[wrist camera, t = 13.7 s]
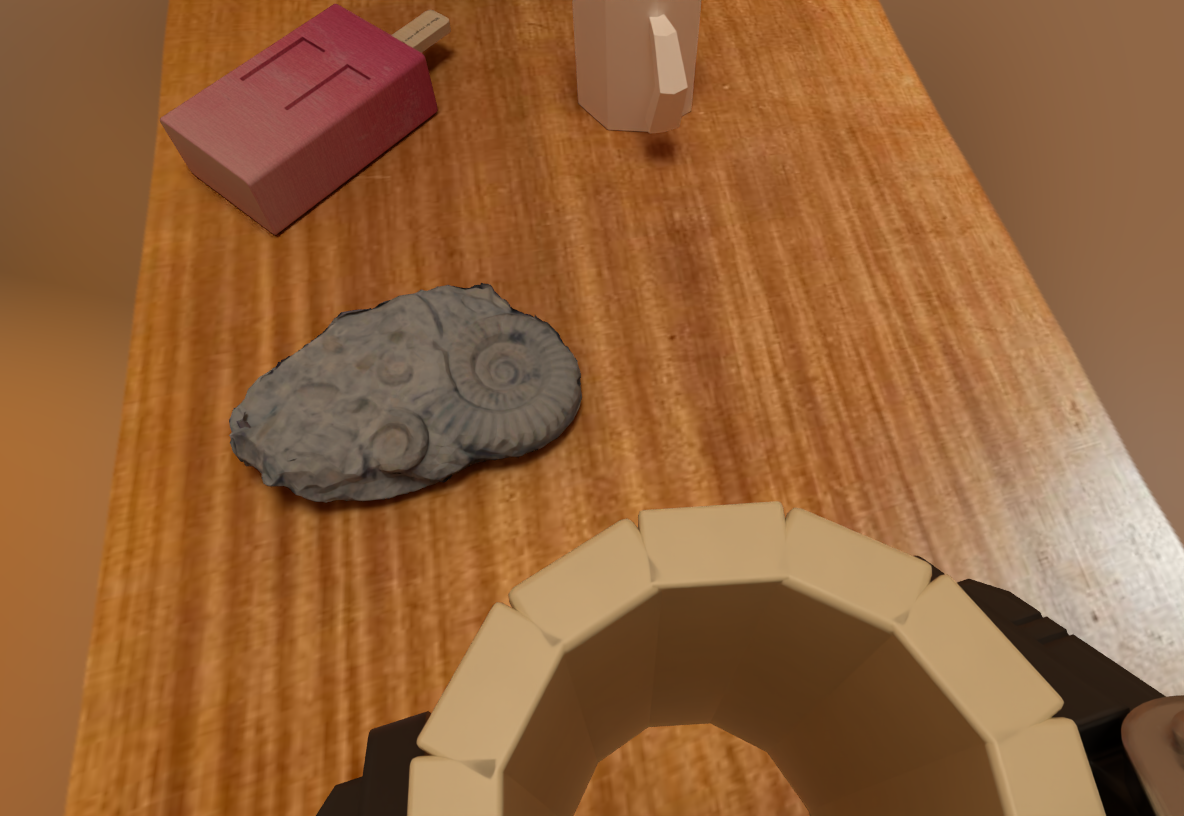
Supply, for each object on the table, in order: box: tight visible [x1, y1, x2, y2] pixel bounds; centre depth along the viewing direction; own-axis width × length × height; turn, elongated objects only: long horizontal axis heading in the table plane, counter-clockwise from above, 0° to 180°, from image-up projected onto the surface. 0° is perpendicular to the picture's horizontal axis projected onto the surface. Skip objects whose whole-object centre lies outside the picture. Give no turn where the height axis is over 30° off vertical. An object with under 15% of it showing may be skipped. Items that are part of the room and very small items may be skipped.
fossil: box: [229, 283, 582, 503], centre depth 44 cm, size 13×18×4 cm
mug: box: [572, 0, 701, 134], centre depth 53 cm, size 12×9×10 cm
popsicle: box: [160, 4, 451, 235], centre depth 56 cm, size 9×5×20 cm
